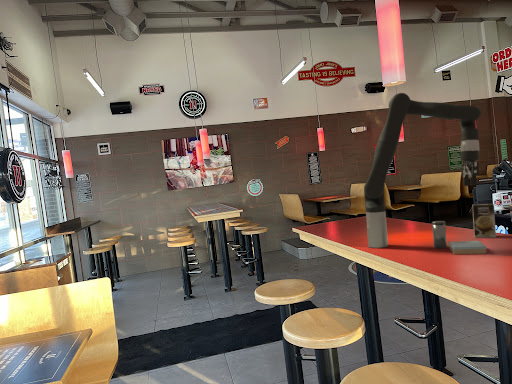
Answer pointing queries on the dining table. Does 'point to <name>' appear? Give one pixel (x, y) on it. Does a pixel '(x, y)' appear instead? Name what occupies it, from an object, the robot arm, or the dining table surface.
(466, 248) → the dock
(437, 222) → the canister
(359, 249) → the dining table surface
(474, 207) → the coffee box
